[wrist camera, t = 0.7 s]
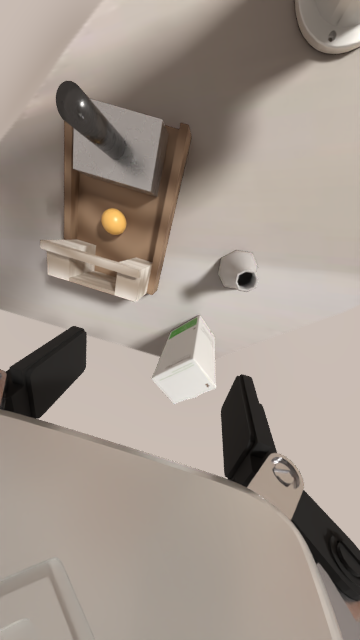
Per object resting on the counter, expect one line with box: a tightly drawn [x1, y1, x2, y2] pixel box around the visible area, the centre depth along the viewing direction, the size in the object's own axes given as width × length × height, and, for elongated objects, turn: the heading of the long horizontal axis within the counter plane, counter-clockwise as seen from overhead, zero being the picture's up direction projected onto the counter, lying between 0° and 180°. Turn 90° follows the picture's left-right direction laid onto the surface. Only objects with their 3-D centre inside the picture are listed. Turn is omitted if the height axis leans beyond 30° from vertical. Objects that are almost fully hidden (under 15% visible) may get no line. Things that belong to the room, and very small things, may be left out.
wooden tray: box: [40, 121, 191, 302], centre depth 30 cm, size 25×18×10 cm
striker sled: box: [56, 81, 169, 197], centre depth 24 cm, size 8×12×13 cm, turn 75°
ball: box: [101, 208, 126, 235], centre depth 32 cm, size 4×4×4 cm
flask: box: [218, 250, 259, 292], centre depth 31 cm, size 7×7×10 cm
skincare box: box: [152, 315, 216, 404], centre depth 35 cm, size 8×7×16 cm
